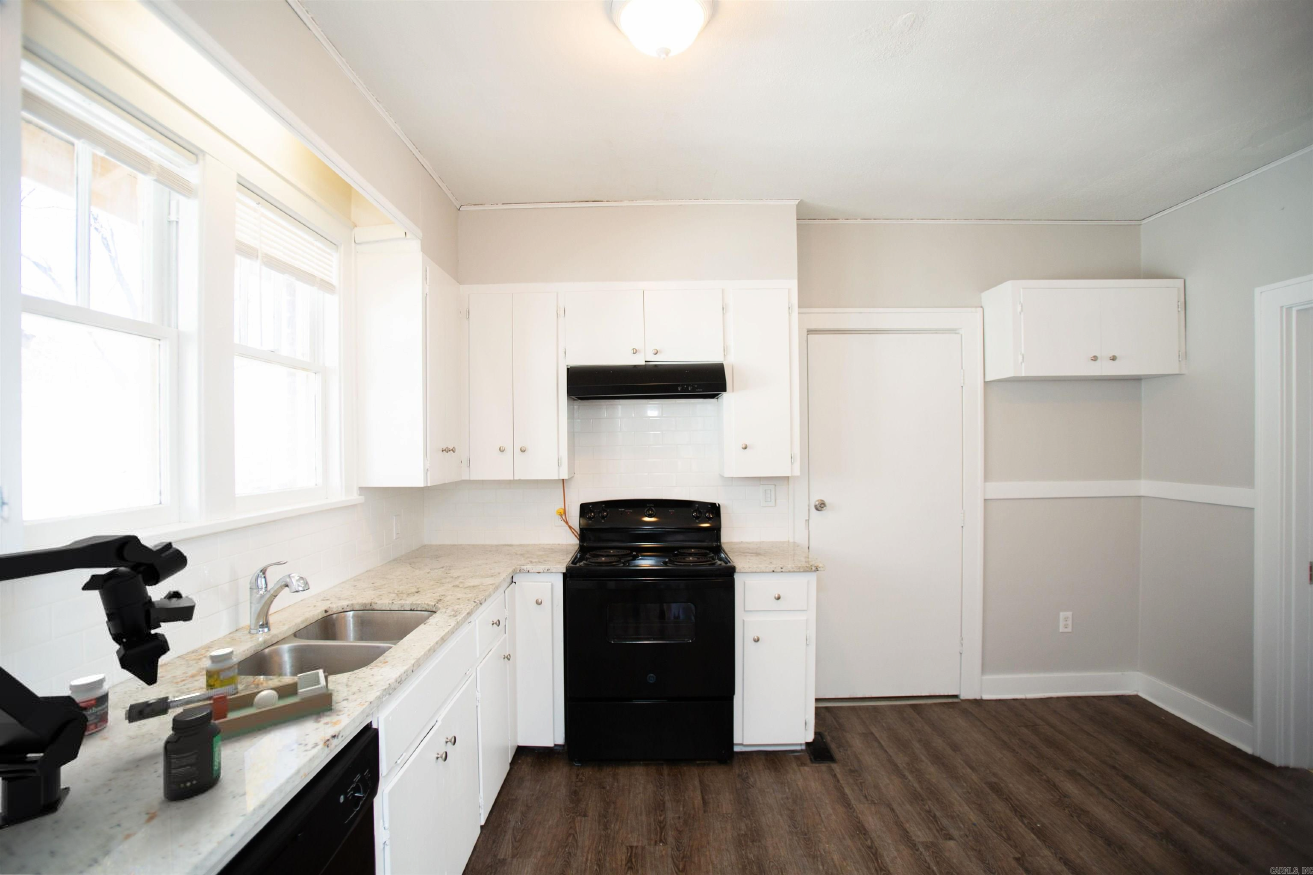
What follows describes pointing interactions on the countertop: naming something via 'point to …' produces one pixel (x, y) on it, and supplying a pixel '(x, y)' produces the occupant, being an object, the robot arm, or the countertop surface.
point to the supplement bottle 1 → (191, 754)
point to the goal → (311, 683)
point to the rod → (180, 704)
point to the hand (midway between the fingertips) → (148, 673)
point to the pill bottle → (92, 700)
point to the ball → (265, 699)
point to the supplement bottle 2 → (222, 670)
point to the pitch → (269, 709)
